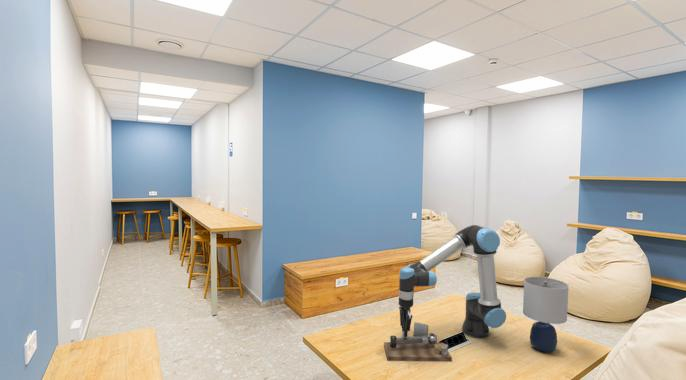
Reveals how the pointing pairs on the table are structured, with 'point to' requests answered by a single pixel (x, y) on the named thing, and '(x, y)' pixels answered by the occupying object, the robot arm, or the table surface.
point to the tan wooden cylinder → (438, 348)
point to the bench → (416, 352)
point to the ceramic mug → (420, 329)
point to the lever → (413, 340)
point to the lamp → (545, 309)
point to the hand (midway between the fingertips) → (404, 341)
